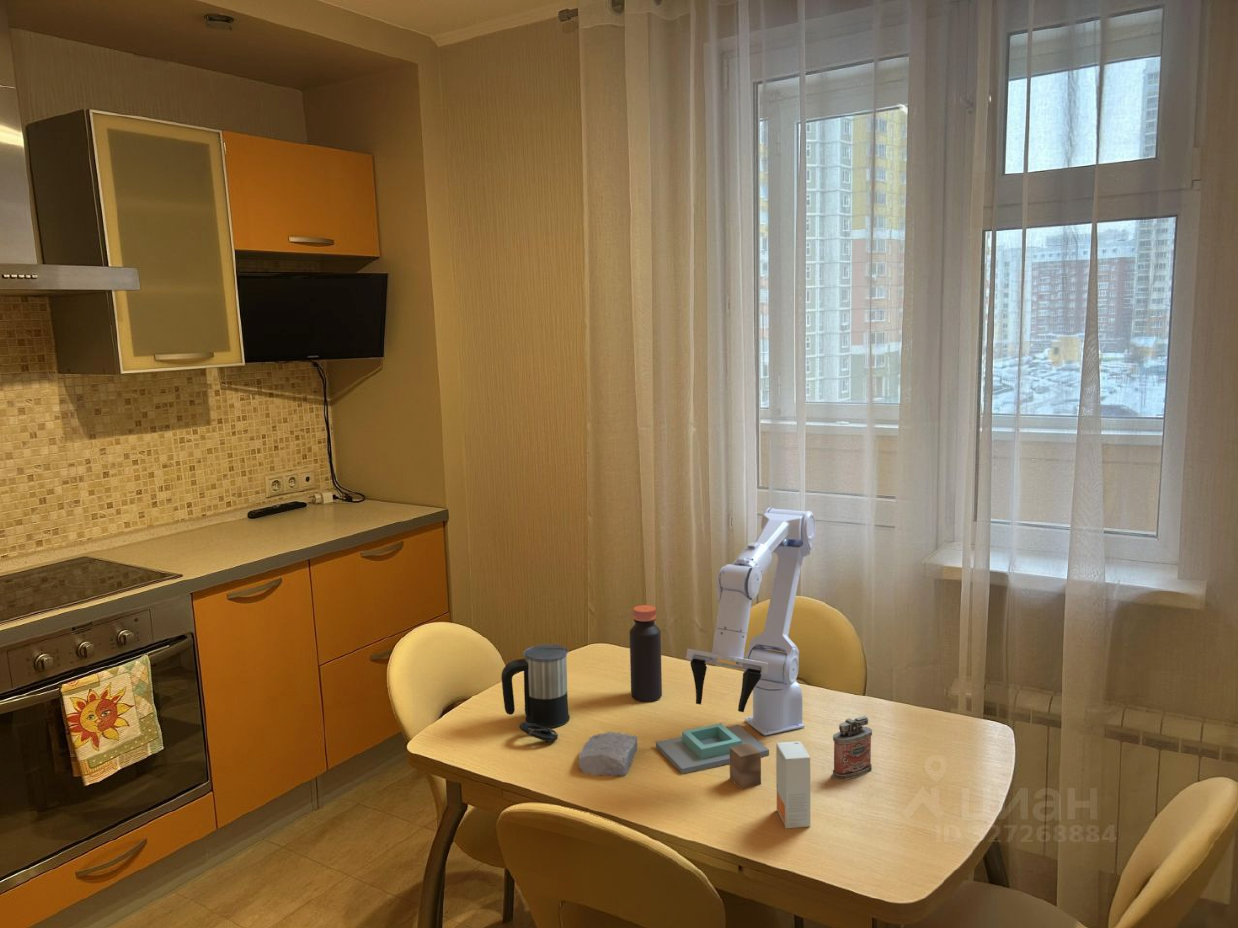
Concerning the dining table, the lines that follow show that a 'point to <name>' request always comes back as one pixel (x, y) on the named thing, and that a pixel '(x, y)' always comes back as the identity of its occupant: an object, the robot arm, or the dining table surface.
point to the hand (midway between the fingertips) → (719, 707)
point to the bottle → (645, 655)
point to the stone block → (608, 754)
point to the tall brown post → (745, 765)
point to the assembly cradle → (706, 747)
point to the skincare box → (793, 784)
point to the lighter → (852, 749)
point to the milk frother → (540, 690)
